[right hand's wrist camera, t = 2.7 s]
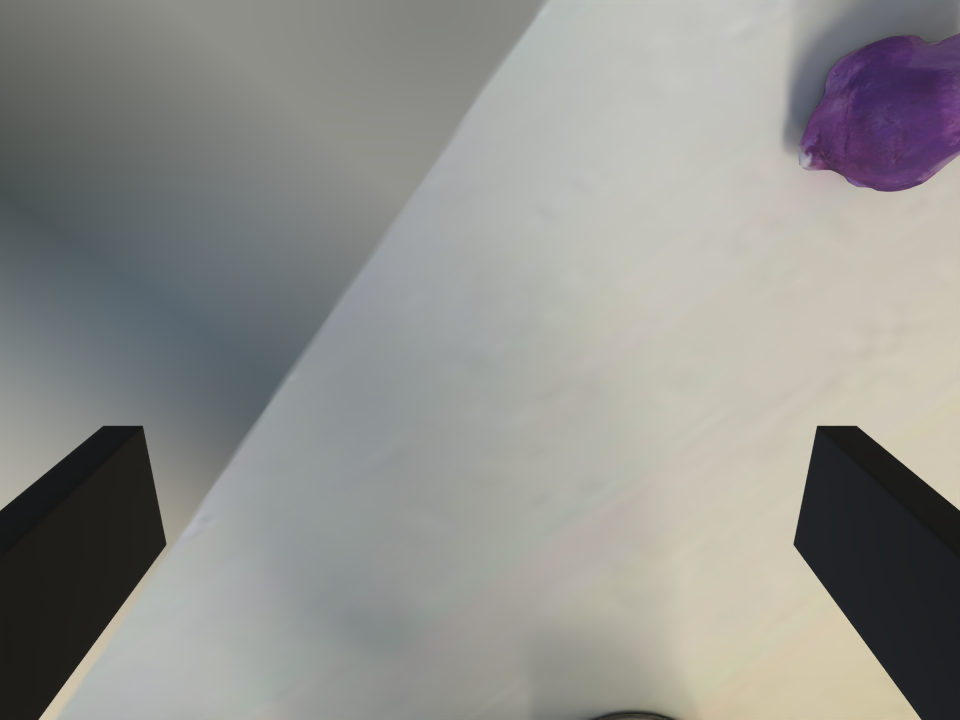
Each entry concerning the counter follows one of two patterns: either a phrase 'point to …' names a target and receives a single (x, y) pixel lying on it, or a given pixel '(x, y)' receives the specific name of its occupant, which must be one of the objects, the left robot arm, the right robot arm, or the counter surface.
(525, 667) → the counter surface
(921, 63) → the figurine
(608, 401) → the counter surface
